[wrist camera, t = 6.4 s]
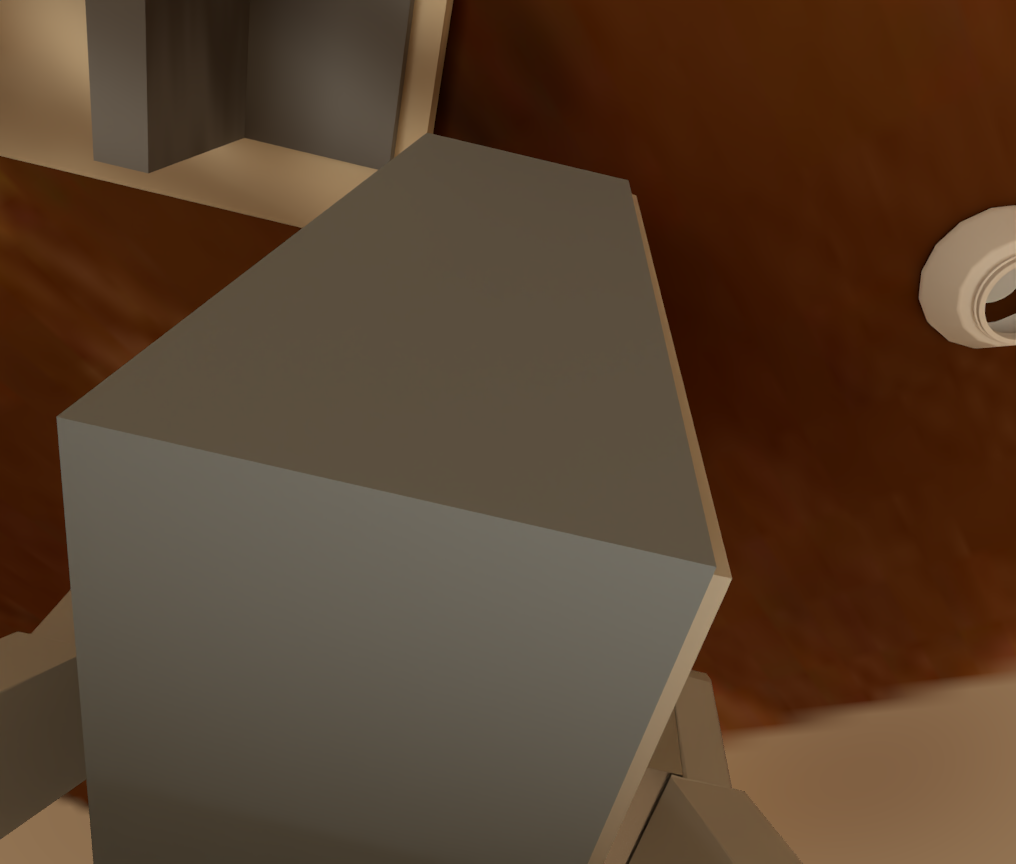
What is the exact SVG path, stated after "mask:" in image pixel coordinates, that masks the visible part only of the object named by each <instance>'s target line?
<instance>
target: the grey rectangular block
mask: <svg viewBox="0 0 1016 864" xmlns="http://www.w3.org/2000/svg"><path fill="white" fill-rule="evenodd" d="M57 429H58V441H59V453H60V465H61V477H62V489H63V501H64V513H65V525H66V537H67V549H68V561H69V573H70V585H71V597H72V609H73V621H74V633H75V645H76V658H77V670H78V682H79V694H80V706H81V718H82V730H83V742H84V754H85V766H86V778H87V790H88V802H89V814H90V826H91V838H92V850H93V861H94V864H604V861H605V859H606V857H607V855H608V853H609V850H610V848H611V846H612V844H613V841H614V839H615V837H616V835H617V833H618V830H619V828H620V826H621V824H622V822H623V819H624V817H625V815H626V813H627V810H628V808H629V806H630V804H631V802H632V799H633V797H634V795H635V793H636V791H637V788H638V786H639V784H640V782H641V779H642V777H643V775H644V773H645V771H646V768H647V766H648V764H649V762H650V759H651V757H652V755H653V753H654V751H655V748H656V746H657V744H658V742H659V740H660V737H661V735H662V733H663V731H664V728H665V726H666V724H667V722H668V720H669V717H670V715H671V713H672V711H673V709H674V706H675V704H676V702H677V700H678V697H679V695H680V693H681V691H682V689H683V686H684V684H685V682H686V680H687V678H688V675H689V673H690V671H691V669H692V666H693V664H694V662H695V660H696V658H697V655H698V653H699V651H700V649H701V646H702V644H703V642H704V640H705V638H706V635H707V633H708V631H709V629H710V627H711V624H712V622H713V620H714V618H715V615H716V613H717V611H718V609H719V607H720V604H721V602H722V600H723V598H724V596H725V593H726V591H727V589H728V587H729V584H730V582H731V580H732V576H731V572H730V568H729V564H728V560H727V556H726V552H725V548H724V544H723V540H722V536H721V532H720V528H719V524H718V520H717V516H716V512H715V508H714V504H713V500H712V496H711V492H710V488H709V484H708V480H707V476H706V472H705V468H704V464H703V460H702V456H701V452H700V448H699V444H698V440H697V436H696V432H695V428H694V424H693V420H692V416H691V412H690V408H689V404H688V400H687V396H686V392H685V388H684V384H683V380H682V376H681V373H680V369H679V365H678V361H677V357H676V353H675V349H674V345H673V341H672V337H671V333H670V329H669V325H668V321H667V317H666V313H665V309H664V305H663V301H662V297H661V293H660V289H659V285H658V281H657V277H656V273H655V269H654V265H653V261H652V257H651V253H650V249H649V245H648V241H647V237H646V233H645V229H644V225H643V221H642V217H641V213H640V209H639V205H638V201H637V197H636V195H633V194H631V189H630V185H629V180H624V179H620V178H616V177H612V176H608V175H603V174H599V173H595V172H591V171H587V170H582V169H578V168H574V167H570V166H566V165H561V164H557V163H553V162H549V161H544V160H540V159H536V158H532V157H528V156H523V155H519V154H515V153H511V152H507V151H502V150H498V149H494V148H490V147H486V146H481V145H477V144H473V143H469V142H464V141H460V140H456V139H452V138H448V137H443V136H439V135H435V134H431V133H426V134H425V135H423V136H422V137H421V138H419V139H418V140H417V141H415V142H414V143H413V144H412V145H410V146H409V147H408V148H406V149H405V150H404V151H402V152H401V153H400V154H399V155H397V156H396V157H395V158H393V159H392V160H391V161H389V162H388V163H387V164H385V165H384V166H383V167H382V168H380V169H379V170H378V171H376V172H375V173H374V174H372V175H371V176H370V177H369V178H367V179H366V180H365V181H363V182H362V183H361V184H359V185H358V186H357V187H355V188H354V189H353V190H352V191H350V192H349V193H348V194H346V195H345V196H344V197H342V198H341V199H340V200H339V201H337V202H336V203H335V204H333V205H332V206H331V207H329V208H328V209H327V210H325V211H324V212H323V213H322V214H320V215H319V216H318V217H316V218H315V219H314V220H312V221H311V222H310V223H309V224H307V225H306V226H305V227H303V228H302V229H301V230H299V231H298V232H297V233H295V234H294V235H293V236H292V237H290V238H289V239H288V240H286V241H285V242H284V243H282V244H281V245H280V246H279V247H277V248H276V249H275V250H273V251H272V252H271V253H269V254H268V255H267V256H266V257H264V258H263V259H262V260H260V261H259V262H258V263H256V264H255V265H254V266H252V267H251V268H250V269H249V270H247V271H246V272H245V273H243V274H242V275H241V276H239V277H238V278H237V279H236V280H234V281H233V282H232V283H230V284H229V285H228V286H226V287H225V288H224V289H222V290H221V291H220V292H219V293H217V294H216V295H215V296H213V297H212V298H211V299H209V300H208V301H207V302H206V303H204V304H203V305H202V306H200V307H199V308H198V309H196V310H195V311H194V312H192V313H191V314H190V315H189V316H187V317H186V318H185V319H183V320H182V321H181V322H179V323H178V324H177V325H176V326H174V327H173V328H172V329H170V330H169V331H168V332H166V333H165V334H164V335H162V336H161V337H160V338H159V339H157V340H156V341H155V342H153V343H152V344H151V345H149V346H148V347H147V348H146V349H144V350H143V351H142V352H140V353H139V354H138V355H136V356H135V357H134V358H133V359H131V360H130V361H129V362H127V363H126V364H125V365H123V366H122V367H121V368H119V369H118V370H117V371H116V372H114V373H113V374H112V375H110V376H109V377H108V378H106V379H105V380H104V381H103V382H101V383H100V384H99V385H97V386H96V387H95V388H93V389H92V390H91V391H89V392H88V393H87V394H86V395H84V396H83V397H82V398H80V399H79V400H78V401H76V402H75V403H74V404H73V405H71V406H70V407H69V408H67V409H66V410H65V411H63V412H62V413H61V414H59V415H58V416H57Z"/></svg>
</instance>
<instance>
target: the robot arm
mask: <svg viewBox="0 0 1016 864" xmlns="http://www.w3.org/2000/svg"><path fill="white" fill-rule="evenodd" d="M86 779H87V778H86V766H85V754H84V742H83V730H82V718H81V706H80V694H79V682H78V670H77V658H76V645H75V633H74V621H73V609H72V597H71V590H70V591H69V592H68V593H67V594H66V595H65V596H64V597H63V599H62V600H61V601H60V602H59V603H58V604H57V605H56V606H55V607H54V609H53V610H52V611H51V612H50V613H49V614H48V615H47V616H46V618H45V619H44V620H43V621H42V622H41V623H40V624H39V625H38V626H37V628H36V629H35V630H34V631H33V632H32V633H31V634H27V633H22V632H15V633H13V634H10V635H8V636H6V637H3V638H1V639H0V839H1V838H3V837H4V836H6V835H7V834H9V833H10V832H11V831H13V830H14V829H16V828H17V827H19V826H20V825H22V824H23V823H24V822H26V821H27V820H28V819H30V818H31V817H33V816H34V815H36V814H37V813H38V812H40V811H41V810H43V809H44V808H46V807H47V806H49V805H50V804H51V803H53V802H54V801H56V800H57V799H59V798H60V797H61V796H63V795H64V794H66V793H67V792H69V791H70V790H71V789H73V788H74V787H76V786H77V785H79V784H80V783H81V782H83V781H84V780H86ZM604 864H803V863H802V862H801V860H799V858H798V857H797V856H796V854H795V853H794V852H793V851H792V849H791V848H790V847H789V846H788V845H787V843H786V842H785V841H784V840H783V838H782V837H781V836H780V835H779V833H778V832H777V831H776V830H775V828H774V827H773V826H772V825H771V824H770V822H769V821H768V820H767V819H766V817H765V816H764V815H763V814H762V813H761V811H760V810H759V809H758V807H757V806H756V805H755V804H754V803H753V801H752V800H751V799H750V798H749V796H748V795H747V794H746V793H745V792H744V791H741V790H737V789H732V786H731V781H730V776H729V770H728V765H727V760H726V755H725V750H724V745H723V739H722V734H721V729H720V724H719V719H718V714H717V708H716V703H715V698H714V693H713V688H712V683H711V680H710V678H709V677H708V675H707V674H706V673H702V672H697V671H692V670H691V671H690V673H689V675H688V678H687V680H686V682H685V684H684V686H683V689H682V691H681V693H680V695H679V697H678V700H677V702H676V704H675V706H674V709H673V711H672V713H671V715H670V717H669V720H668V722H667V724H666V726H665V728H664V731H663V733H662V735H661V737H660V740H659V742H658V744H657V746H656V748H655V751H654V753H653V755H652V757H651V759H650V762H649V764H648V766H647V768H646V771H645V773H644V775H643V777H642V779H641V782H640V784H639V786H638V788H637V791H636V793H635V795H634V797H633V799H632V802H631V804H630V806H629V808H628V810H627V813H626V815H625V817H624V819H623V822H622V824H621V826H620V828H619V830H618V833H617V835H616V837H615V839H614V841H613V844H612V846H611V848H610V850H609V853H608V855H607V857H606V859H605V861H604Z"/></svg>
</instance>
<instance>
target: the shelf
mask: <svg viewBox="0 0 1016 864" xmlns="http://www.w3.org/2000/svg"><path fill="white" fill-rule="evenodd" d="M452 6H453V0H0V156H3V157H7V158H11V159H16V160H20V161H24V162H28V163H32V164H37V165H41V166H45V167H49V168H53V169H58V170H62V171H66V172H70V173H74V174H78V175H83V176H87V177H91V178H95V179H99V180H104V181H108V182H112V183H116V184H120V185H125V186H129V187H133V188H137V189H141V190H145V191H150V192H154V193H158V194H162V195H166V196H171V197H175V198H179V199H183V200H187V201H192V202H196V203H200V204H204V205H208V206H212V207H217V208H221V209H225V210H229V211H233V212H238V213H242V214H246V215H250V216H254V217H259V218H263V219H267V220H271V221H275V222H279V223H284V224H288V225H292V226H296V227H300V228H303V227H305V226H306V225H307V224H309V223H310V222H311V221H312V220H314V219H315V218H316V217H318V216H319V215H320V214H322V213H323V212H324V211H325V210H327V209H328V208H329V207H331V206H332V205H333V204H335V203H336V202H337V201H339V200H340V199H341V198H342V197H344V196H345V195H346V194H348V193H349V192H350V191H352V190H353V189H354V188H355V187H357V186H358V185H359V184H361V183H362V182H363V181H365V180H366V179H367V178H369V177H370V176H371V175H372V174H374V173H375V172H376V171H378V170H379V169H380V168H382V167H383V166H384V165H385V164H387V163H388V162H389V161H391V160H392V159H393V158H395V157H396V156H397V155H399V154H400V153H401V152H402V151H404V150H405V149H406V148H408V147H409V146H410V145H412V144H413V143H414V142H415V141H417V140H418V139H419V138H421V137H422V136H423V135H425V134H426V133H431V134H433V131H434V124H435V118H436V111H437V104H438V98H439V91H440V85H441V78H442V72H443V65H444V59H445V52H446V45H447V39H448V32H449V26H450V19H451V13H452Z"/></svg>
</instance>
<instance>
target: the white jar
mask: <svg viewBox="0 0 1016 864" xmlns="http://www.w3.org/2000/svg"><path fill="white" fill-rule="evenodd" d="M1015 289H1016V205H1013V206H1004V207H995V208H990V209H988V210H985V211H983V212H981V213H979V214H977V215H975V216H973V217H970V218H968V219H966V220H964V221H962V222H960V223H959V224H958V225H957V226H956V227H955V228H953V229H952V230H951V231H950V232H949V233H948V234H947V235H946V236H945V237H944V238H943V239H942V240H940V241H939V242H938V243H937V244H936V245H935V247H934V249H933V251H932V253H931V255H930V256H929V258H928V260H927V262H926V264H925V266H924V268H923V269H922V271H921V279H920V289H919V301H920V304H921V307H922V309H923V312H924V315H925V317H926V320H927V322H928V323H929V324H930V325H931V326H932V327H934V328H935V329H936V330H937V331H938V332H939V333H940V334H941V335H943V336H944V337H945V338H946V339H947V340H948V341H950V342H954V343H957V344H961V345H964V346H968V347H971V348H975V349H976V348H988V347H1000V346H1012V345H1016V314H1013V315H1011V316H1009V317H1006V318H1004V319H1002V320H999V321H997V322H989V323H987V320H986V317H985V304H986V303H990V302H995V301H998V300H1001V299H1003V298H1005V297H1006V296H1008V295H1009V294H1011V293H1012V292H1013V291H1014V290H1015Z"/></svg>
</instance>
